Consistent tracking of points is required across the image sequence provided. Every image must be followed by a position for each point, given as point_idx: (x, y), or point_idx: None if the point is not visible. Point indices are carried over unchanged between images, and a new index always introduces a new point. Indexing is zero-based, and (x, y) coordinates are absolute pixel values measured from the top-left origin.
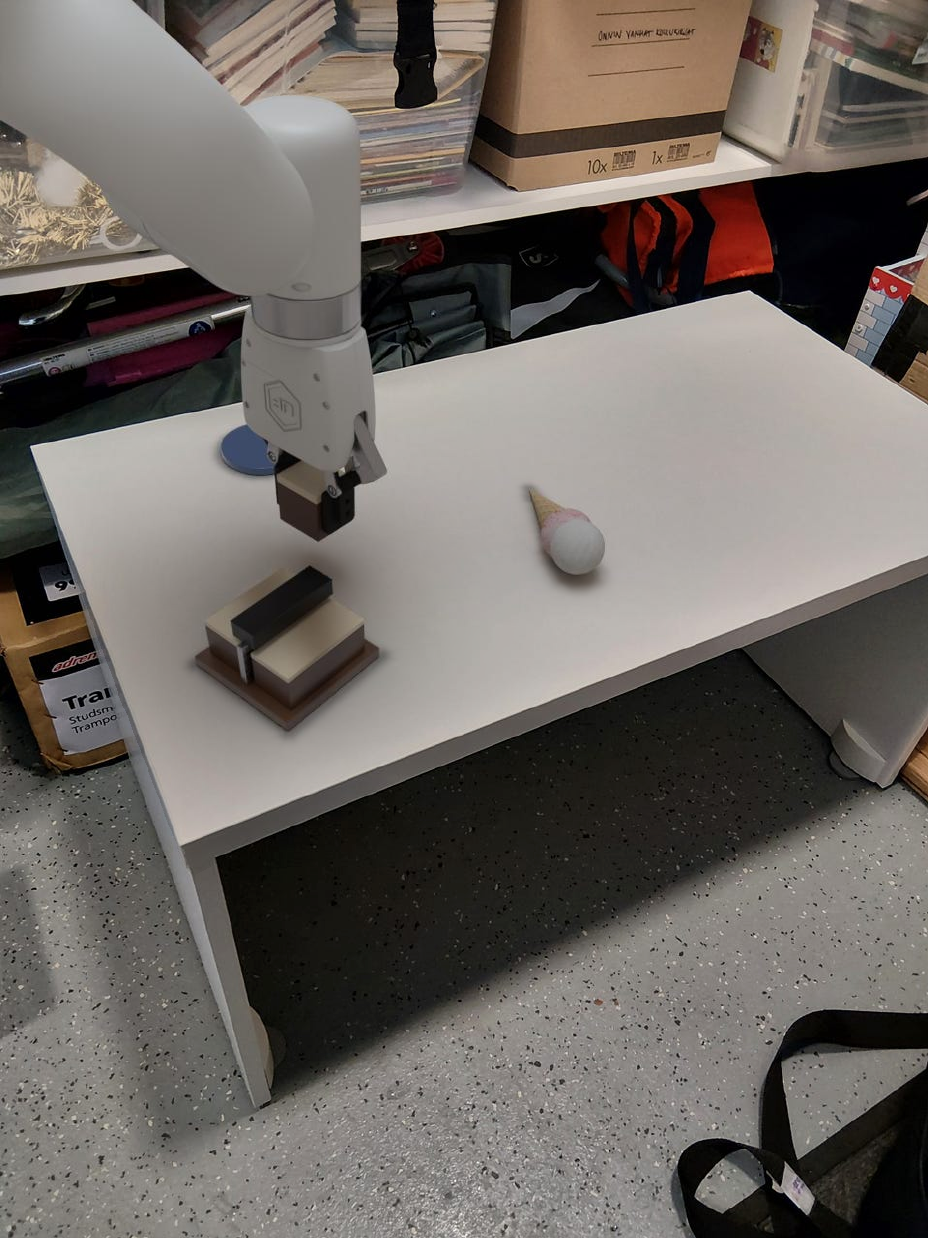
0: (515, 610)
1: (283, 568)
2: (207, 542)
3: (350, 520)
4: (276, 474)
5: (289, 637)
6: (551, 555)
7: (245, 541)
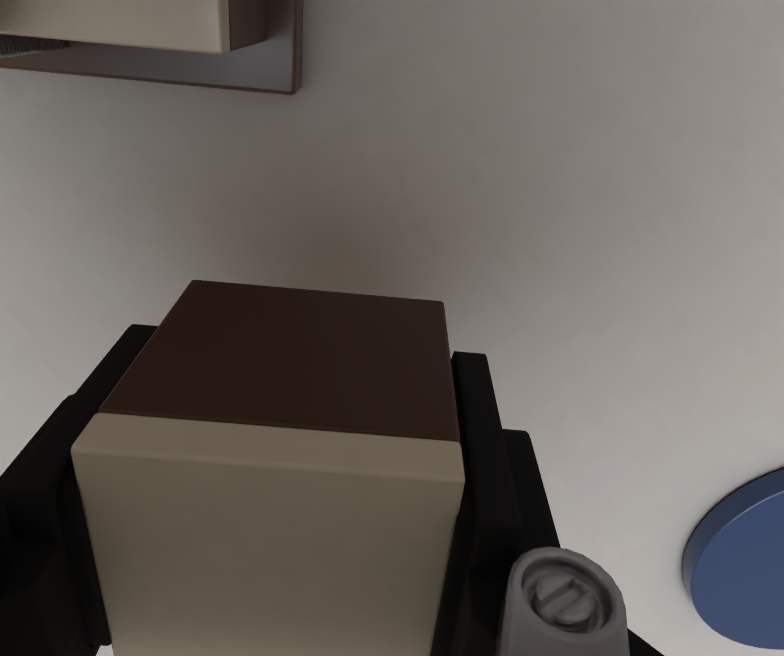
0: None
1: (212, 52)
2: (749, 141)
3: None
4: (493, 482)
5: None
6: None
7: (624, 227)
